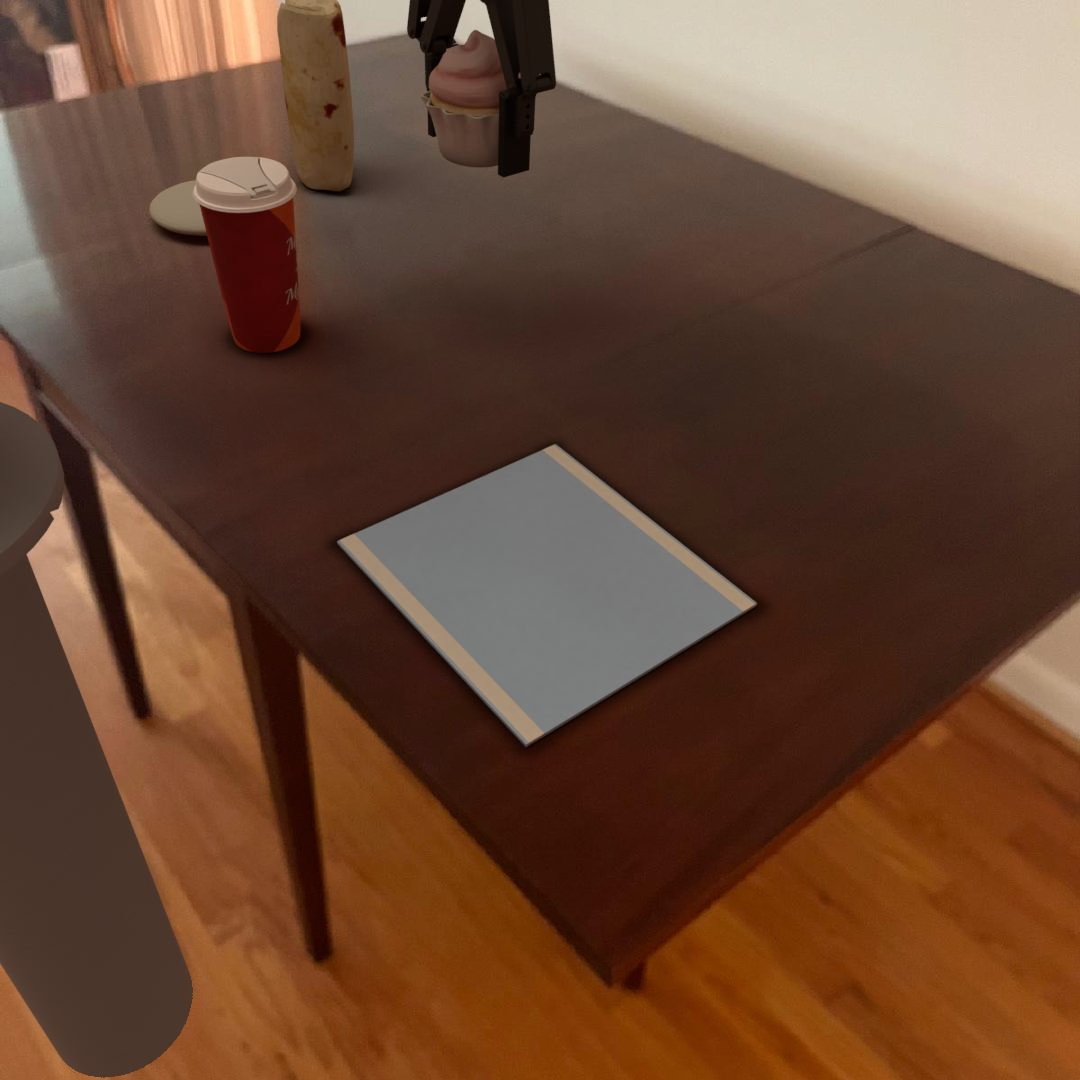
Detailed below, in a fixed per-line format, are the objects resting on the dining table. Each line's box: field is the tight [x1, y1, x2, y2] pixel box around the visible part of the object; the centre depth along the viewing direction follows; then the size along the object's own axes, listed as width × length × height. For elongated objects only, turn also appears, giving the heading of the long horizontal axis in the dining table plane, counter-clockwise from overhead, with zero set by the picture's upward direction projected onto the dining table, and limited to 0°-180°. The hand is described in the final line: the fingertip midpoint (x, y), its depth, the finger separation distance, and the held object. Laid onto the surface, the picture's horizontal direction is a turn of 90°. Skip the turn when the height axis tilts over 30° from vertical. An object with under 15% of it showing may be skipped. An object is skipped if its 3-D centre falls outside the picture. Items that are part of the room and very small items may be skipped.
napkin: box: [336, 443, 758, 748], centre depth 73 cm, size 22×20×1 cm
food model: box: [276, 0, 355, 192], centre depth 113 cm, size 10×7×20 cm
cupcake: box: [419, 29, 521, 168], centre depth 86 cm, size 9×9×10 cm
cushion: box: [148, 179, 207, 237], centre depth 110 cm, size 12×12×3 cm
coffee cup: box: [193, 156, 301, 354], centre depth 90 cm, size 8×8×15 cm
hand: (477, 151), depth 89 cm, fingers closed on cupcake, 9 cm apart
